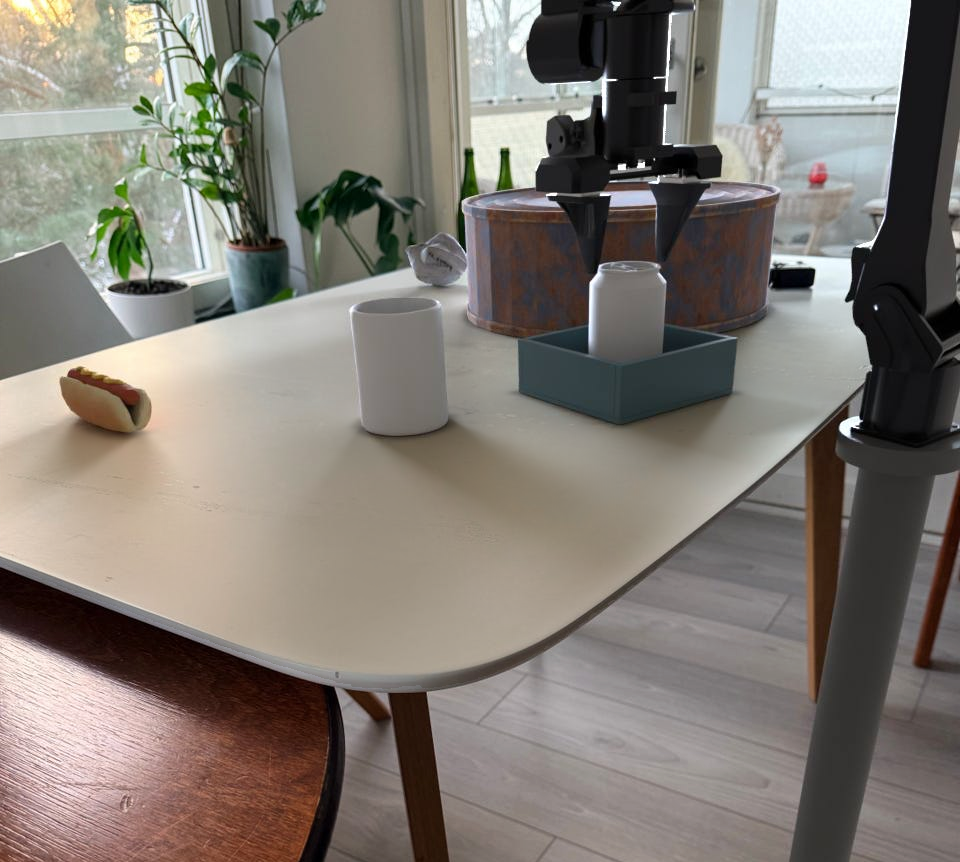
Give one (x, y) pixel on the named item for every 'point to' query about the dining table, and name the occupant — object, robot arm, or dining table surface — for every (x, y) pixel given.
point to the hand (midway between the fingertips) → (627, 267)
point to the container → (618, 257)
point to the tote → (626, 373)
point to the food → (105, 400)
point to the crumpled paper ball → (438, 260)
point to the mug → (400, 365)
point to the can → (627, 311)
